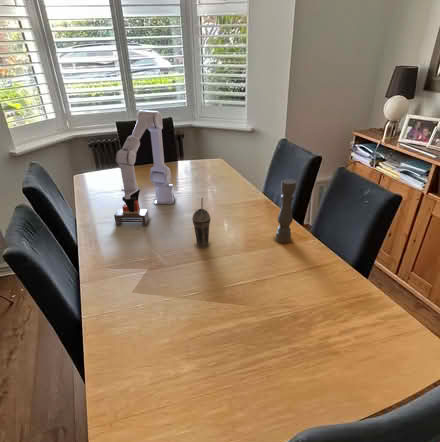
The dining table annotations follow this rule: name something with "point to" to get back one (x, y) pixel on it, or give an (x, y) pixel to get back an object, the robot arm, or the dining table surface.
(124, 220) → the brown flanged block
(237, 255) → the dining table surface
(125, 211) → the stepped red block
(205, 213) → the beverage cup
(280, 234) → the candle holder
